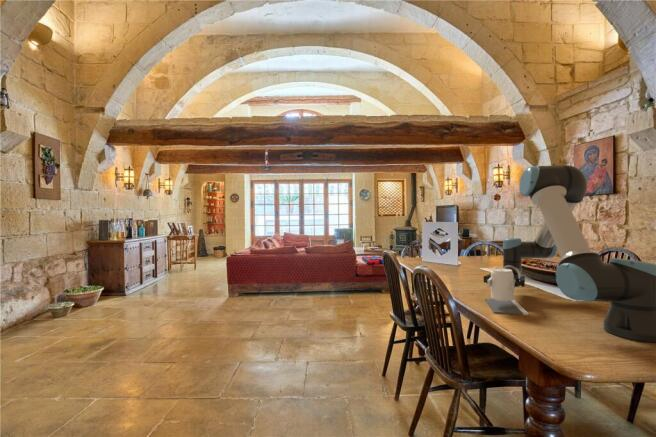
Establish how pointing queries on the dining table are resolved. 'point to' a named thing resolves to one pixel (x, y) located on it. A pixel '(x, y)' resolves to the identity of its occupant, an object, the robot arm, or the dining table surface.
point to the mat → (506, 307)
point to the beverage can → (502, 284)
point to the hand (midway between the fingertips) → (500, 285)
